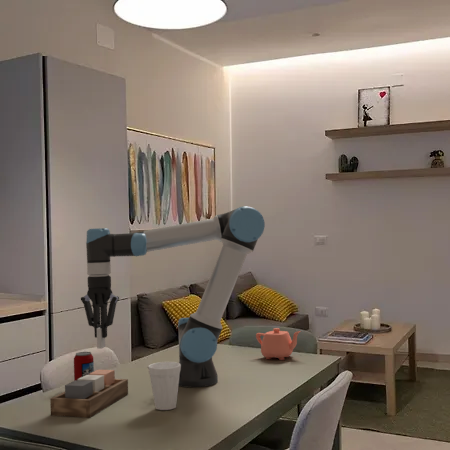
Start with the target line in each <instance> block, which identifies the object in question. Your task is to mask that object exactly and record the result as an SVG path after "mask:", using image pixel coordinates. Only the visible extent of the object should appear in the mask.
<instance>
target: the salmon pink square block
mask: <svg viewBox="0 0 450 450" xmlns="http://www.w3.org/2000/svg"><path fill="white" fill-rule="evenodd" d="M115 371H116V370H115V369H96V370H94V372H92V373H90V374H89V375H104V385H106V386H109V385H111V384H113V383H114V382H115V379H116V375H115Z"/></svg>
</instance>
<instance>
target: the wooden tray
mask: <svg viewBox="0 0 450 450" xmlns="http://www.w3.org/2000/svg"><path fill="white" fill-rule="evenodd" d="M128 395H129V379H128V378H115V382H114V383H113V384H111V385H109V386H106V385H104V388H103V389H102V390H100V391H98V392H93V394H92V395H91V396H89V397H87V398H85V399H71V398H65V391H63V392H61V393H58V394H57V395H55V396H53V397H51V398H50V399H49V400H50V401H49V402H50V416H54V417H67V418H70V417H71V418H85V419H86V418H88V419H91V418H92V417H94V416H95V415H97V414H99V413H100V412H102V411H103V410H105V409H107V408H109V407H110V406H112V405H113V404H115V403H116V402H118V401H120V400H122V399H123V398H125V397H126V396H128Z"/></svg>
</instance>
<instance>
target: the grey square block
mask: <svg viewBox="0 0 450 450" xmlns="http://www.w3.org/2000/svg"><path fill="white" fill-rule="evenodd" d="M64 392H65V398H71V399H85V398H87V397H89V396H91V395H92V394H93V381H78V380H75V381H74V380H73V381H71V382H69V383H66V384H65V385H64Z"/></svg>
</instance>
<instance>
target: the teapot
mask: <svg viewBox="0 0 450 450" xmlns="http://www.w3.org/2000/svg"><path fill="white" fill-rule="evenodd" d="M300 332H302V331H301V330H299V331H295V332H294V333H293V336H292V337H291V336H290V333H289V331H285V330H281V329H280V328H279V327H275V328H274V327H273V329H272V330H271V331H270V330H269V331H266V332H265V333H263V332H257V333H256V334H255V338H256V340H257V342H258V343H259V344H260V346H261V347H260V353H261V355H262V356H263V358H264V357H265V360H271V359H272V358H275V359H276V358H278V360H279V361H284V360H285V359H286V358H289V357H290V356H291V355H292V353H293V351H294V349H295V348H296V346H297V344H298V335H299V333H300ZM261 336H262V338H261Z"/></svg>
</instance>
